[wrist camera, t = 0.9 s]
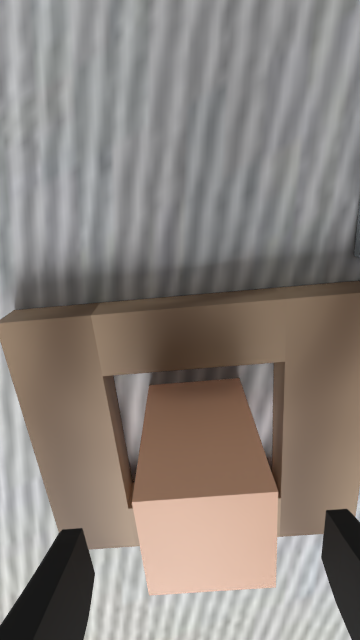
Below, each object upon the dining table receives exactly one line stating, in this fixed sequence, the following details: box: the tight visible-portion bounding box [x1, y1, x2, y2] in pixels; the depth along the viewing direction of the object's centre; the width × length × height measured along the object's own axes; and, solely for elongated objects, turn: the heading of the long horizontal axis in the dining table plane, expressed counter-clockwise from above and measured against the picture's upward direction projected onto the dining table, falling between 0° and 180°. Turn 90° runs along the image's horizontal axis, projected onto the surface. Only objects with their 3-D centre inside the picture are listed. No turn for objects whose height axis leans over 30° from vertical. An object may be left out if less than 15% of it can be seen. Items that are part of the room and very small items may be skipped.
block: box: [132, 378, 278, 595], centre depth 12 cm, size 4×4×6 cm
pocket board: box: [0, 281, 360, 549], centre depth 15 cm, size 14×12×2 cm
